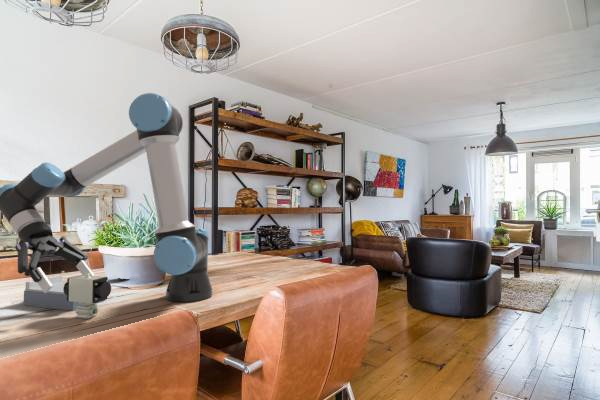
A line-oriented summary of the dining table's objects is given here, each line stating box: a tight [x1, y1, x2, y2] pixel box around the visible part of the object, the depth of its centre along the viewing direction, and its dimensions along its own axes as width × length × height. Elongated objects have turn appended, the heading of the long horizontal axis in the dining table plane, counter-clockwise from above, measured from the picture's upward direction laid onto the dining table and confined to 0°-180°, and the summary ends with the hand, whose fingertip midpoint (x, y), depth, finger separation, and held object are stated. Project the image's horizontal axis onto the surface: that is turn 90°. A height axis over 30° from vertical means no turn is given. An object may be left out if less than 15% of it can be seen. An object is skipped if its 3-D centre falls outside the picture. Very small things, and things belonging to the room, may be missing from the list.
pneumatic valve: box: [63, 273, 112, 320], centre depth 100 cm, size 6×12×12 cm, turn 77°
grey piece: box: [23, 274, 106, 312], centre depth 114 cm, size 22×12×7 cm, turn 75°
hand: (71, 284), depth 101 cm, fingers open, 13 cm apart
